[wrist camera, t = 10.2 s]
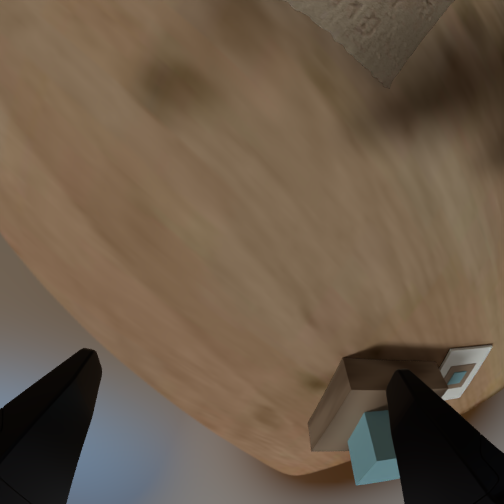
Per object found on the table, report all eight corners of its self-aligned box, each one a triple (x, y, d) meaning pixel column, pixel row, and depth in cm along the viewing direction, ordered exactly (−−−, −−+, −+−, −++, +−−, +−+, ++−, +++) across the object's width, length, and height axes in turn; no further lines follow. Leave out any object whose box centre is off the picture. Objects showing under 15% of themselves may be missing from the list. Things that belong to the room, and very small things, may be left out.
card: (491, 344, 25) (493, 347, 25) (458, 395, 29) (460, 398, 29) (450, 348, 25) (452, 352, 25) (418, 402, 29) (419, 405, 29)
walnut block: (433, 358, 26) (448, 388, 23) (389, 419, 31) (398, 447, 27) (341, 354, 26) (351, 389, 22) (307, 419, 30) (311, 451, 27)
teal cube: (414, 407, 24) (430, 451, 19) (393, 436, 26) (405, 477, 22) (364, 412, 24) (376, 461, 19) (347, 441, 26) (355, 485, 21)
